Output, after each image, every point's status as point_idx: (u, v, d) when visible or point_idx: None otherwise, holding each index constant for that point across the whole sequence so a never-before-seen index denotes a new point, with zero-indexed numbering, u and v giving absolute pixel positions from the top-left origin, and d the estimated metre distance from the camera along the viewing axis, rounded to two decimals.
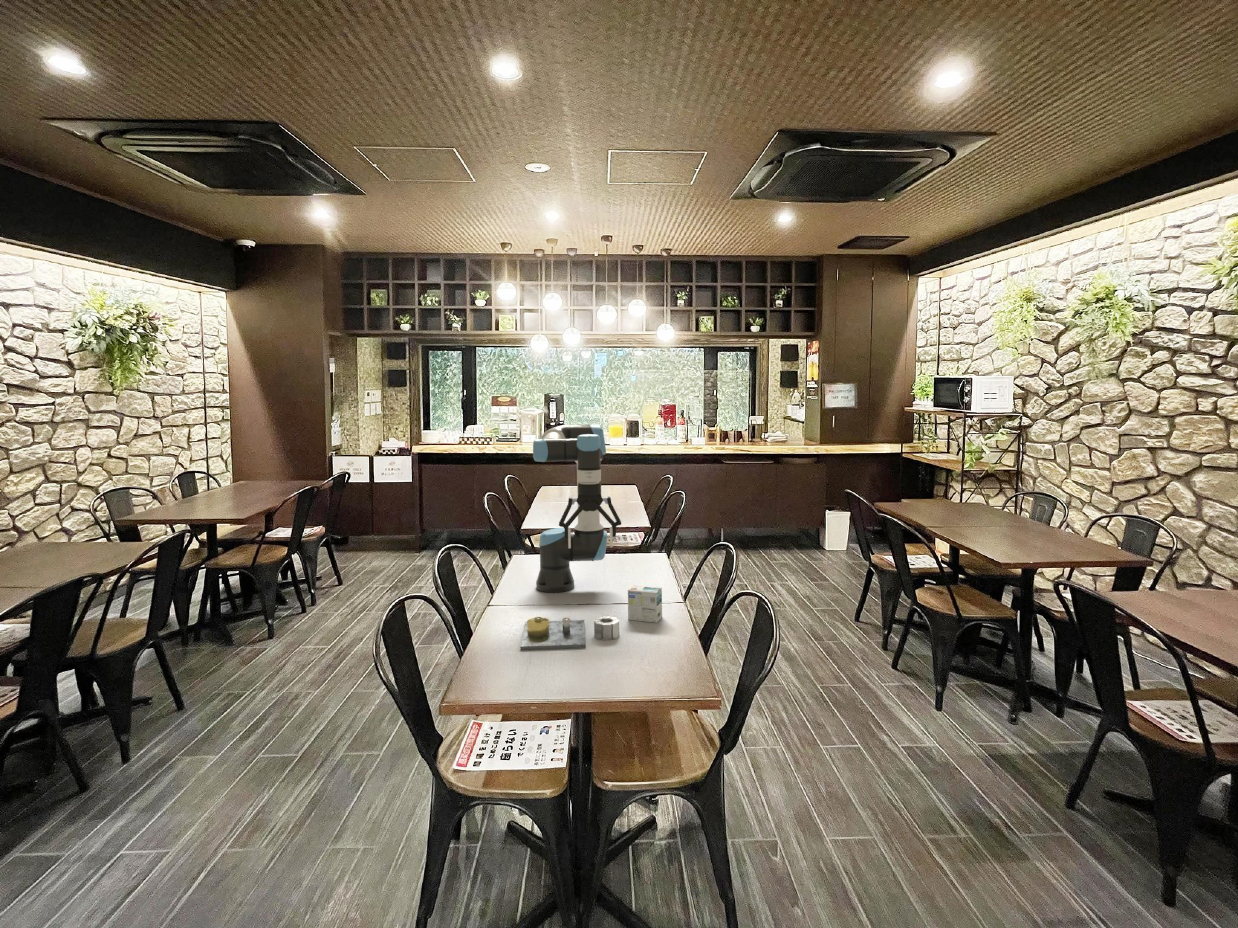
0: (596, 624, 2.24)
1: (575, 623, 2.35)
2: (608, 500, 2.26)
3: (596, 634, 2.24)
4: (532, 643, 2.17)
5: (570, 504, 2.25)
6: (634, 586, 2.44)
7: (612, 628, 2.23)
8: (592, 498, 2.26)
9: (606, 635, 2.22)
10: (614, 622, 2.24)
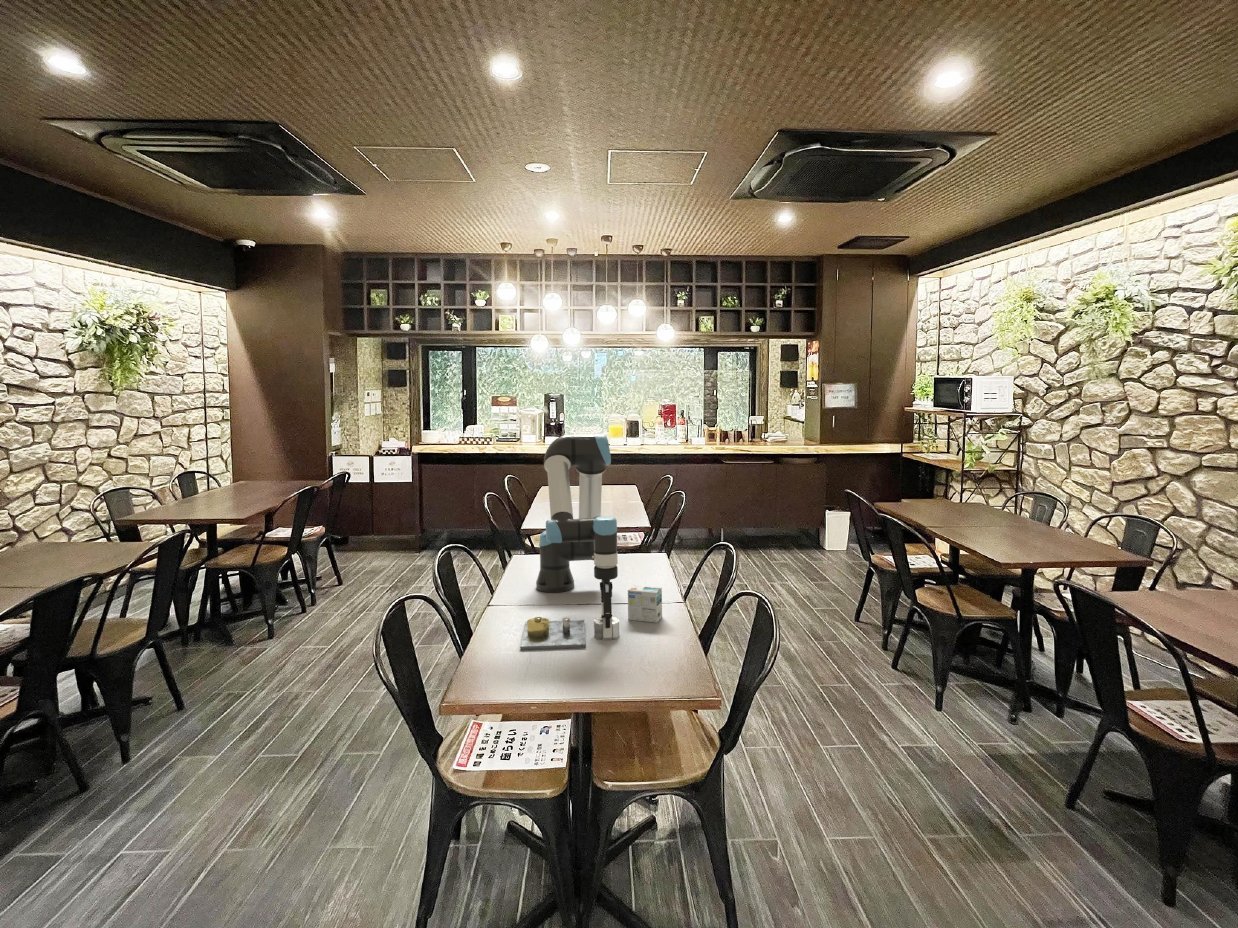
0: (596, 624, 2.24)
1: (575, 623, 2.35)
2: (603, 588, 2.18)
3: (596, 634, 2.24)
4: (532, 643, 2.17)
5: (601, 581, 2.31)
6: (634, 586, 2.44)
7: (612, 628, 2.23)
8: None
9: None
10: (614, 622, 2.24)
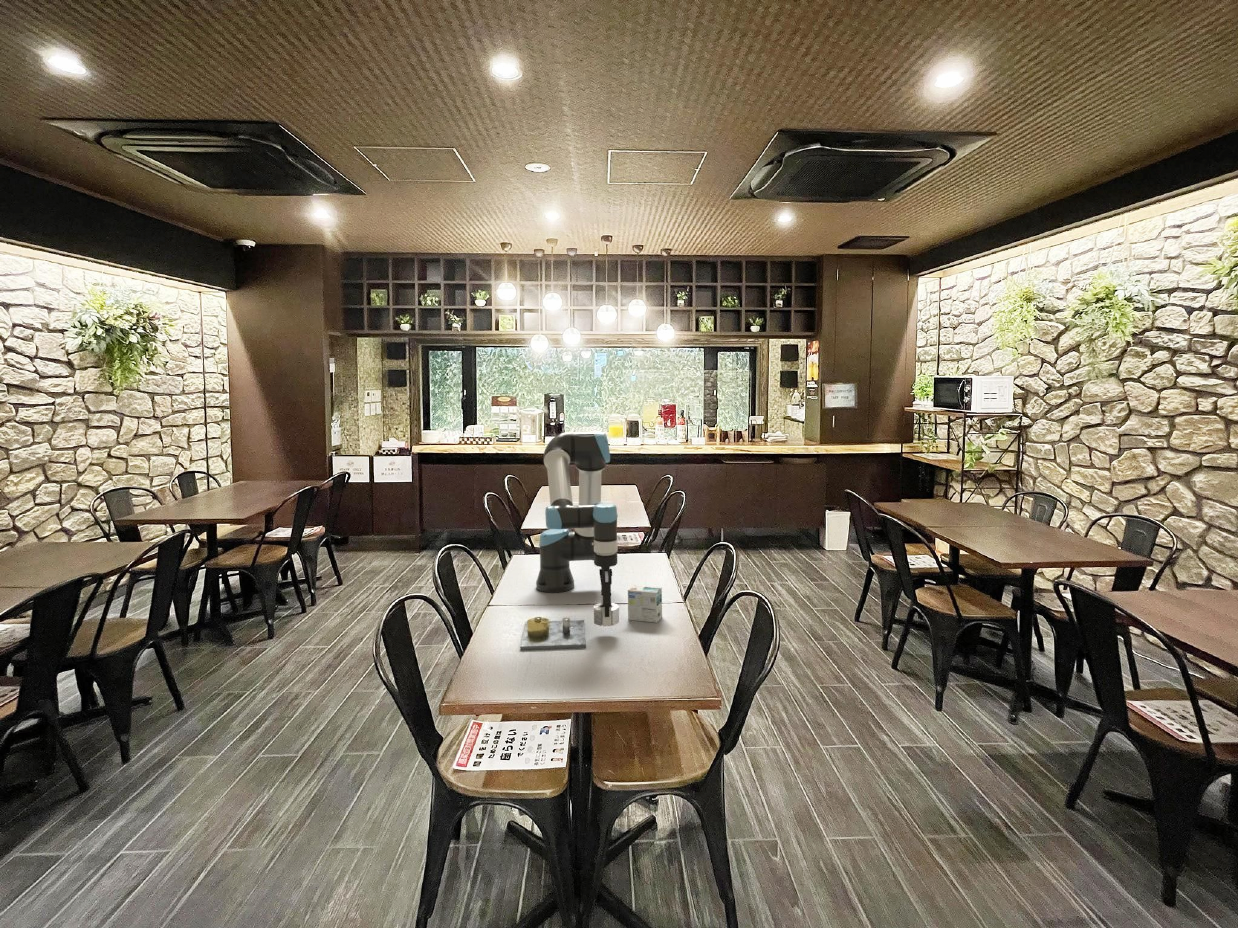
0: (596, 610, 2.24)
1: (575, 623, 2.35)
2: (602, 578, 2.18)
3: (596, 620, 2.24)
4: (532, 643, 2.17)
5: None
6: (634, 586, 2.44)
7: (612, 614, 2.23)
8: (602, 567, 2.23)
9: None
10: (614, 608, 2.24)
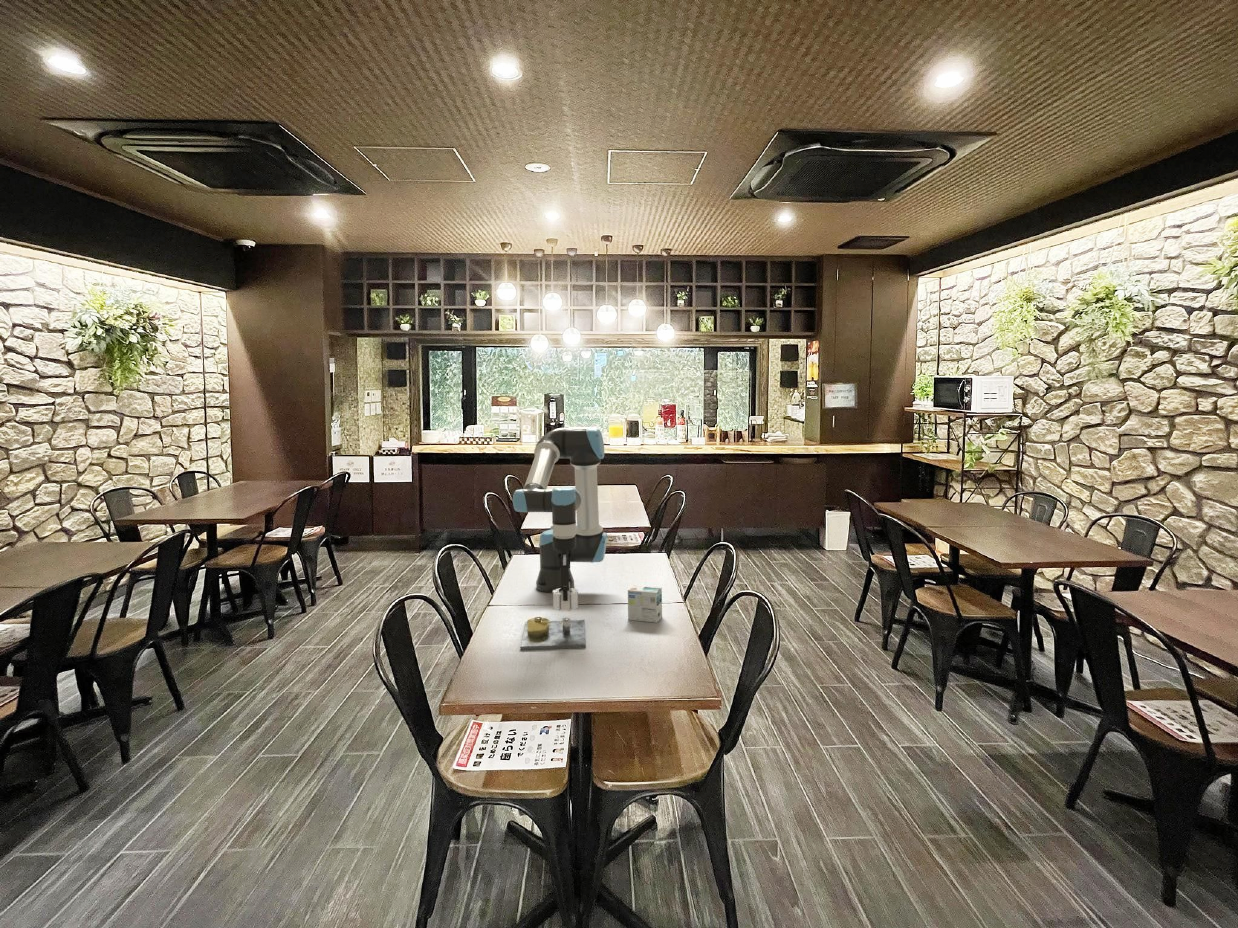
0: (554, 594, 2.22)
1: (575, 623, 2.35)
2: (560, 561, 2.18)
3: (554, 605, 2.23)
4: (532, 643, 2.17)
5: None
6: (634, 586, 2.44)
7: (570, 598, 2.22)
8: None
9: None
10: (573, 592, 2.23)
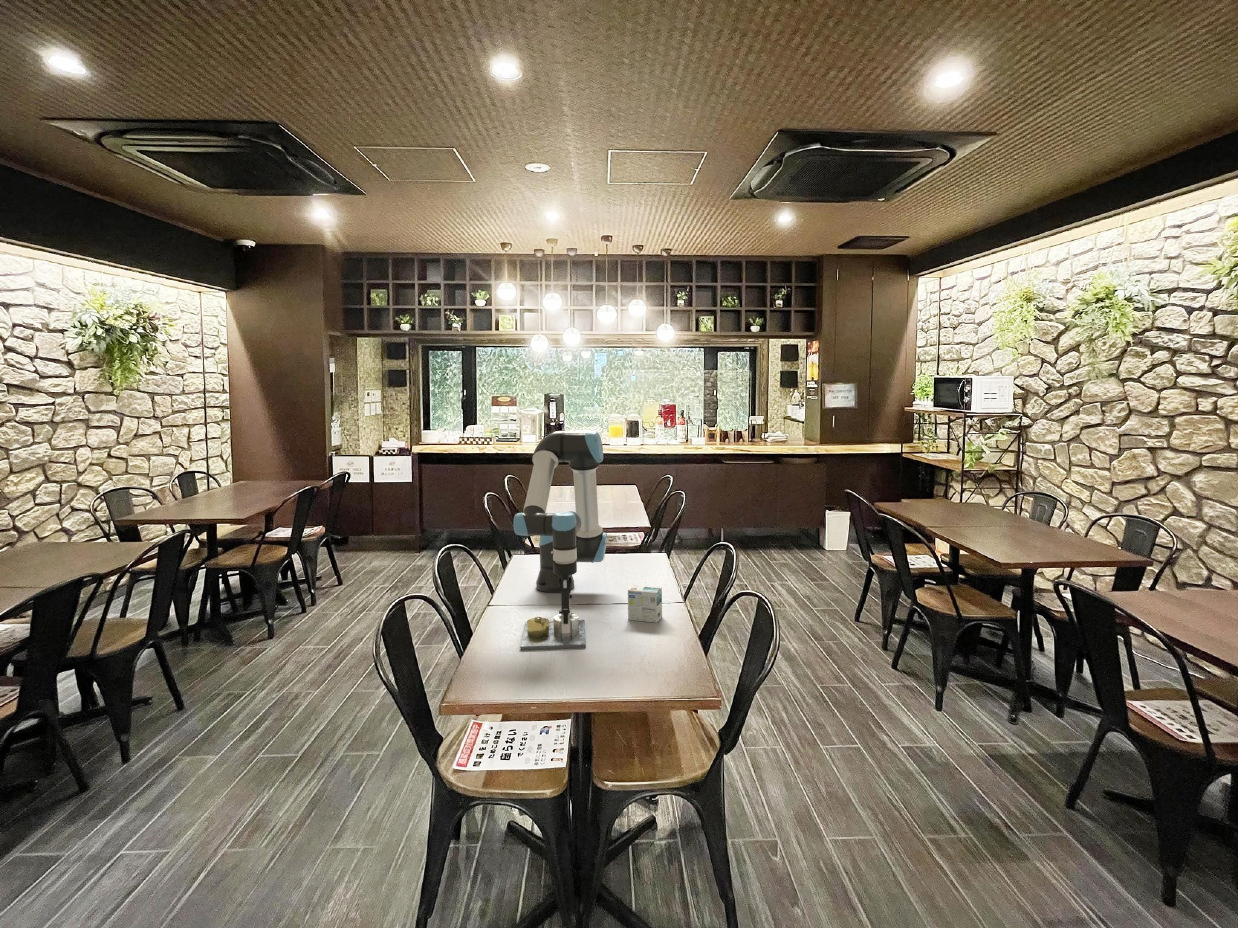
0: (555, 621, 2.24)
1: None
2: (561, 584, 2.19)
3: (555, 631, 2.24)
4: (532, 643, 2.17)
5: None
6: (634, 586, 2.44)
7: (571, 625, 2.23)
8: None
9: None
10: (573, 618, 2.24)
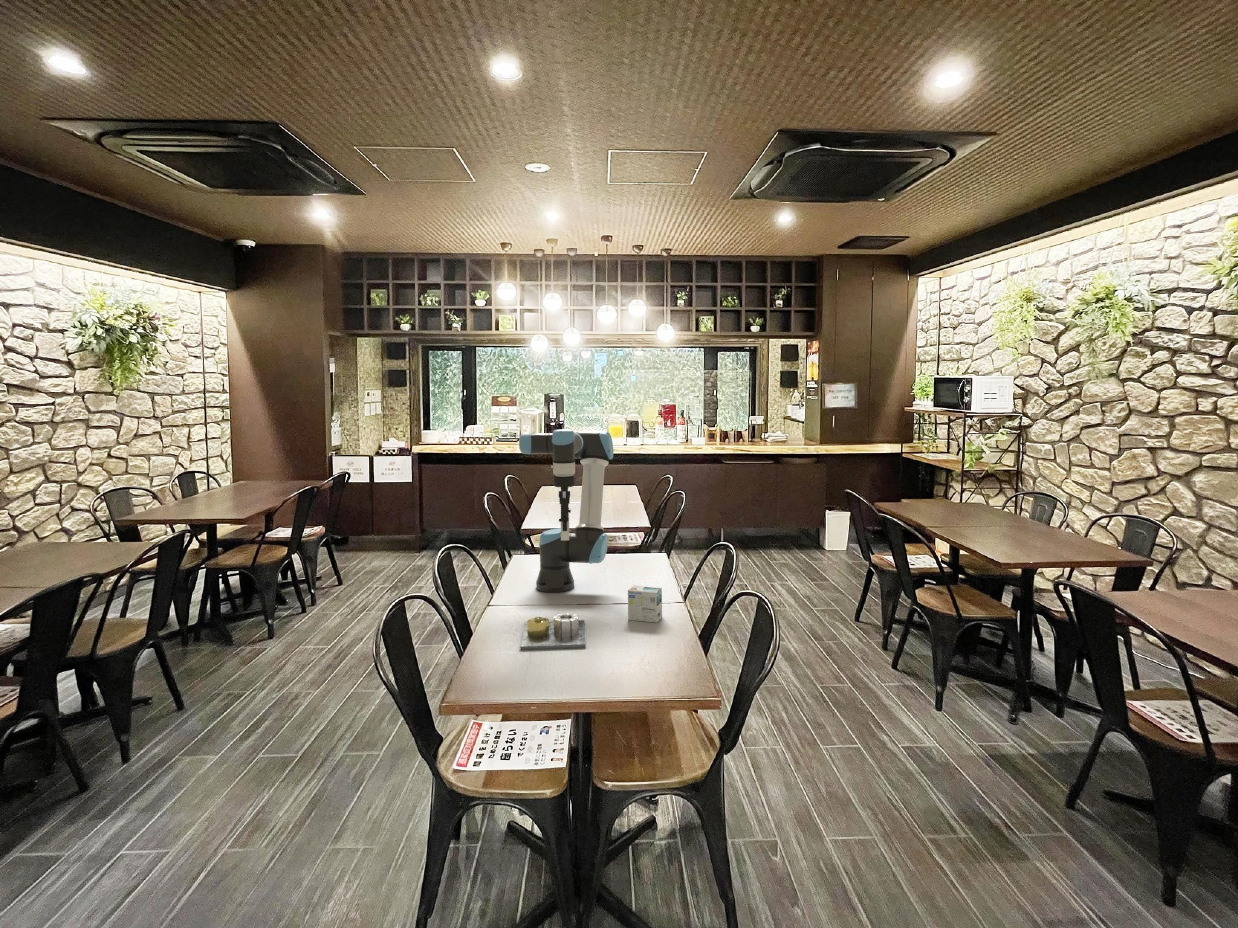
0: (555, 621, 2.24)
1: None
2: (560, 494, 2.34)
3: (555, 631, 2.24)
4: (532, 643, 2.17)
5: None
6: (634, 586, 2.44)
7: (571, 625, 2.23)
8: None
9: (565, 632, 2.23)
10: (573, 618, 2.24)
